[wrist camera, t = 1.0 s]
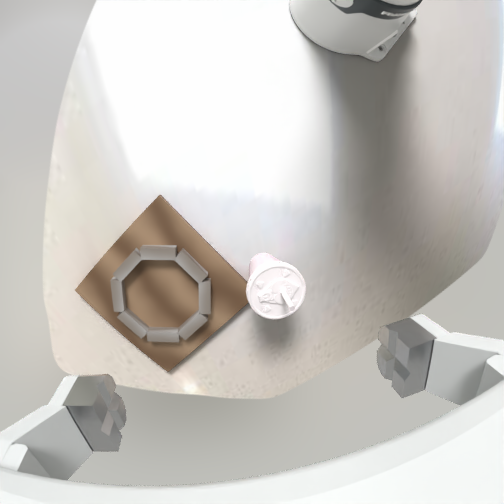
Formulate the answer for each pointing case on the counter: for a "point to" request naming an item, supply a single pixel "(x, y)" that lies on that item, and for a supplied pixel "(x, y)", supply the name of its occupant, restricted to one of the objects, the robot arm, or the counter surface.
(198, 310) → the socket
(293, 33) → the counter surface
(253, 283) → the smoothie
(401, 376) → the robot arm
